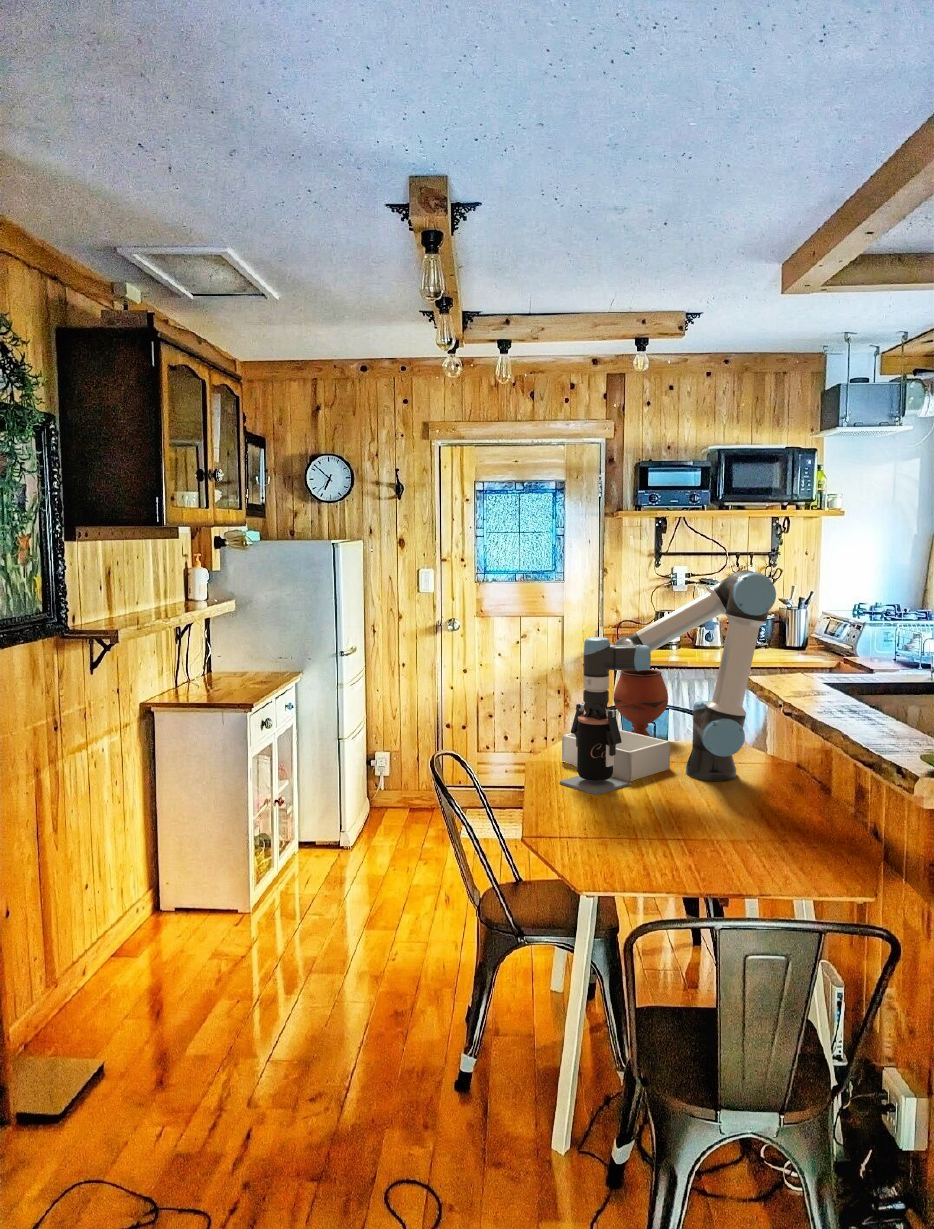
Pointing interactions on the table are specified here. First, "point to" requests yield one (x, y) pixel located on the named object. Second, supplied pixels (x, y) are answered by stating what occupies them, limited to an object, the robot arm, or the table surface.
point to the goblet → (641, 698)
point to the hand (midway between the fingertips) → (595, 761)
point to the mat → (595, 784)
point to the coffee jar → (592, 749)
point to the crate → (628, 755)
